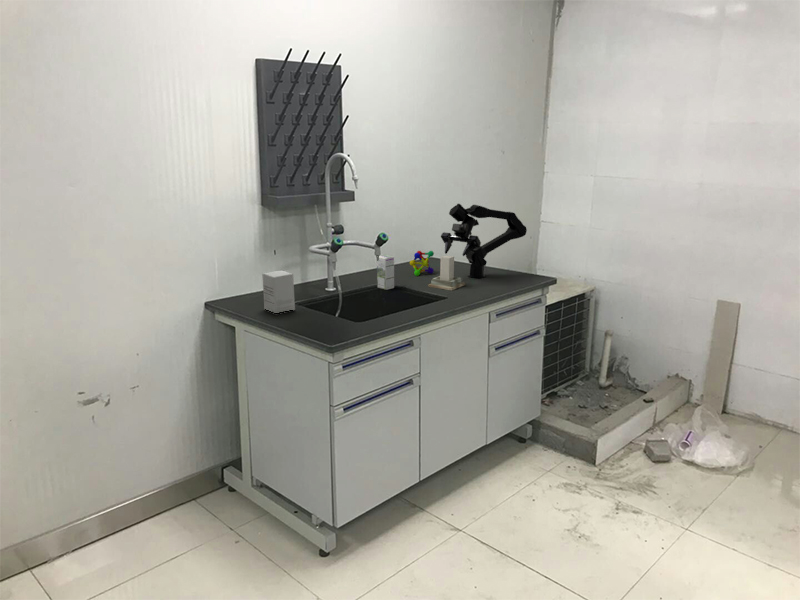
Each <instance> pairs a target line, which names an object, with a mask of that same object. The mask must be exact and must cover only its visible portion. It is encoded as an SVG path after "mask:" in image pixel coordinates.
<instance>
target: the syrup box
mask: <svg viewBox="0 0 800 600" xmlns="http://www.w3.org/2000/svg"><path fill="white" fill-rule="evenodd" d="M376 283H377V284H376V286H377V287H376V288H378V289H381V290H385V291H386V290H387V291H388V290H391V289H394V288H395V256H393V255H391V256H390V255H387V254H384V255H379V260H378V261H377V260H376Z"/></svg>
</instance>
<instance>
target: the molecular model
mask: <svg viewBox="0 0 800 600" xmlns="http://www.w3.org/2000/svg"><path fill="white" fill-rule="evenodd" d="M434 254H435V253H434V251H433V250H429V251H428V252H422V251H421V250H418V251H416V252H415V253H414V256H413V257H414V258H413V259H411V260H410V261H409V265H410V266H412V268H413V269H414V272H413V274H414V276H416V277H418V276H420V274H421V273H422V272H426V273H428V274H433V273H434V268H433V267H431V265H430V264H429V262H430V261H429V259H430V258H431V257H433V256H434ZM425 255H427V257H424V256H425ZM417 259H419V260H420V261H417ZM417 265H421V266H419V267H418V266H417ZM424 267H426V268H427V269H423V268H424Z"/></svg>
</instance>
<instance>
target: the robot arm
mask: <svg viewBox="0 0 800 600" xmlns="http://www.w3.org/2000/svg"><path fill="white" fill-rule="evenodd" d="M448 214H449V215H450V217H452V218H453V219H454V220H455V221H457V223H453V224H452V228H451V231H453V232H454V233H453V234H454V236H453V235H452V234H451V232H445V231H444V232H442V233H441V235H440V238H441V239H442V241H443V244H444V246H445V247H444V254H445V255H447V253H448V252H449V250H450V249H451V247H452V246H453V242H460V243H466V245H465V247H464V250H463V251H462V256H463V257H466V259H467V260H468V263H469V264H470V268H469V274H468V275H467V277H469V278H472V279H476V280H477V279H482V278H486V277H487V276H486V275H485V274H484V273H485V271H484V269H485V267H486V265H487V260H486V259H485V258H486V256H487V255H488V254H489V253H491V252H492V251H494V250H497V248H500V247H501V246H503V245H505V244H506V243H508V242H510V241H511V240H516V239H520V238H523V237H525V236H526V234H527V231H528V229H527V226H526V225H524V223H523V222H522V221H521V220H520V219H519V217H518V216H517V214H516V213H515V212H511V211H503V210H499V209H498V210H497V209H490V208H488V207H485V206H483V205H478V204H472V205H470V207H467V208H464V206H463V205H462V204H461V203H456V205H455V206H453V207H451V209H450V210H449V212H448ZM475 218H477V219H475ZM487 218H493V219H500V220H506V223H507V226H508V228H507V229H506V230H505V232H503V233H502V234H500V235H498V236H496V237H494V238H493V239H491V240H489V241H488V242H486V243H484V244H482V242H481V240H480V238H479V235H474V234H473V235H472V230H473V228H474V227H475V226H479V225H480V224H479V221H478V219H487ZM459 222H461V223H459ZM481 244H482V245H481Z"/></svg>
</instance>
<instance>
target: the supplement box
mask: <svg viewBox="0 0 800 600" xmlns="http://www.w3.org/2000/svg"><path fill="white" fill-rule="evenodd" d="M261 274H262V288H263V291H262V292H263V304H264V305H263V306H264V310H265V309H266V310H269V311H271V312H274V313H279V312H283V311H289V310H293V311H295V310H296V303H295V287H294V286H295V285H294V273H291V272H288V271H285V270H282V269H281V270H275V271H270V272H264V273H263V272H262V273H261ZM266 310H265V311H266ZM269 311H268V312H269ZM271 312H270V313H271ZM289 312H290V311H289ZM274 313H273V314H274Z"/></svg>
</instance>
